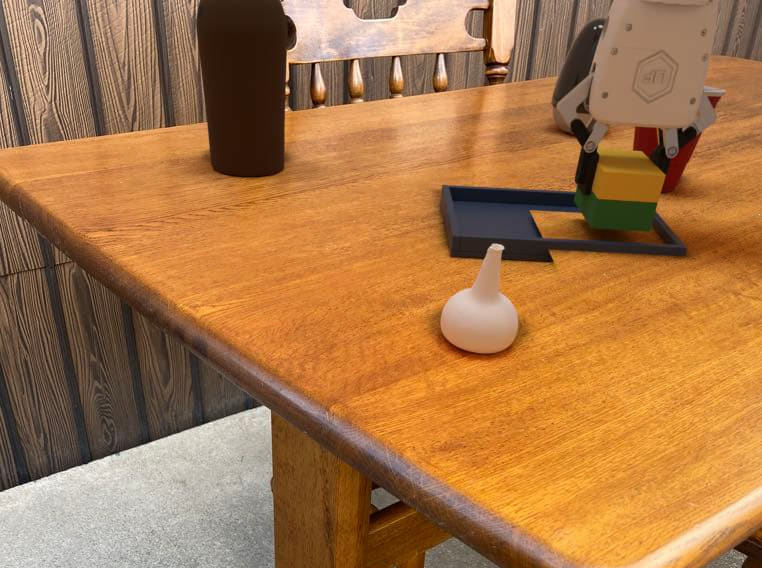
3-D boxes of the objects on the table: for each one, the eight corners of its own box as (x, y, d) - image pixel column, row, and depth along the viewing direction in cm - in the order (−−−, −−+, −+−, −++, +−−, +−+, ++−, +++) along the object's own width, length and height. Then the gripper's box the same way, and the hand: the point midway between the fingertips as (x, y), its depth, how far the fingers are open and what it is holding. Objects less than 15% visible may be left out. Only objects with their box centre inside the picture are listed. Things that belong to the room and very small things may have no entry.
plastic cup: (701, 183, 105) (733, 81, 97) (688, 203, 97) (721, 94, 89) (620, 169, 108) (645, 69, 100) (602, 188, 101) (626, 82, 93)
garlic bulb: (472, 318, 68) (486, 224, 63) (530, 343, 65) (549, 246, 60) (423, 337, 65) (433, 240, 59) (481, 366, 61) (497, 264, 56)
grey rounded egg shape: (622, 132, 125) (649, 19, 116) (592, 143, 119) (618, 24, 109) (566, 120, 130) (587, 11, 121) (534, 130, 124) (554, 15, 114)
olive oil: (256, 183, 96) (246, -76, 80) (189, 168, 100) (167, -83, 84) (305, 165, 103) (305, -76, 87) (240, 151, 107) (229, -82, 91)
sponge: (573, 200, 85) (585, 147, 82) (627, 204, 86) (642, 151, 82) (590, 228, 79) (604, 171, 75) (649, 232, 79) (666, 175, 75)
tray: (637, 213, 93) (642, 194, 92) (681, 268, 80) (687, 247, 78) (440, 203, 93) (442, 184, 92) (450, 256, 79) (453, 235, 78)
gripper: (581, -23, 66) (538, 199, 78) (782, -9, 66) (710, 210, 78) (565, -30, 72) (527, 178, 83) (750, -17, 72) (687, 188, 84)
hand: (616, 192), depth 81 cm, fingers closed on sponge, 6 cm apart
